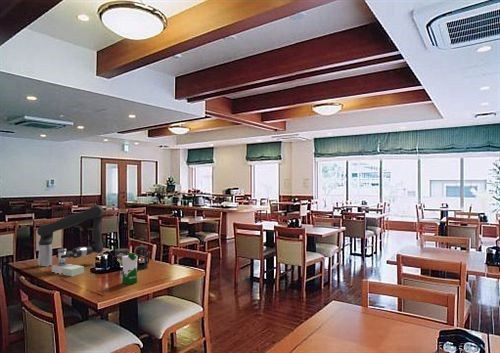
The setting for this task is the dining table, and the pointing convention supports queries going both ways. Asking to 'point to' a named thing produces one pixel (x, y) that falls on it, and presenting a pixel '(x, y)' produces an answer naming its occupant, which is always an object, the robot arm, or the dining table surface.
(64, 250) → the cylinder
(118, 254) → the coffee can
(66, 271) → the stand
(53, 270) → the stand
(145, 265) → the french press
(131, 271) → the milk carton
